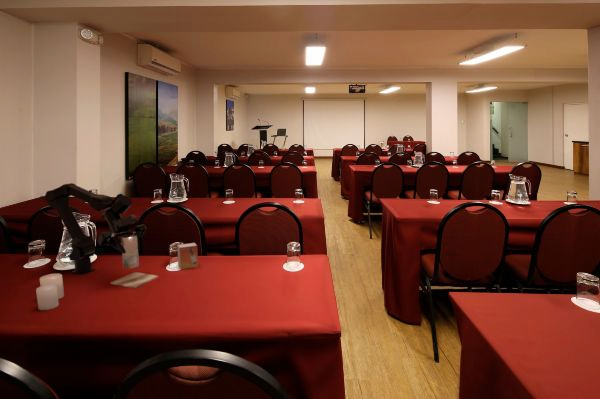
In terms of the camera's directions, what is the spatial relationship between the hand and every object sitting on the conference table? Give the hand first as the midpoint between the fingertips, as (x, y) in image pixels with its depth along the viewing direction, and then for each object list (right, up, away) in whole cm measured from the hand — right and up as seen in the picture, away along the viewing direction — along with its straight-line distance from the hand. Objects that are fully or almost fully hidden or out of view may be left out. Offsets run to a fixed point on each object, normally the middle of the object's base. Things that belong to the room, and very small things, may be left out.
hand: (131, 251), depth 154 cm
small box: (+17, -10, +21) cm, 29 cm away
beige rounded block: (-24, -16, -12) cm, 31 cm away
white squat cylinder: (-21, -17, -20) cm, 33 cm away
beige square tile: (-1, -13, +4) cm, 14 cm away
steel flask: (-1, -6, +2) cm, 7 cm away
